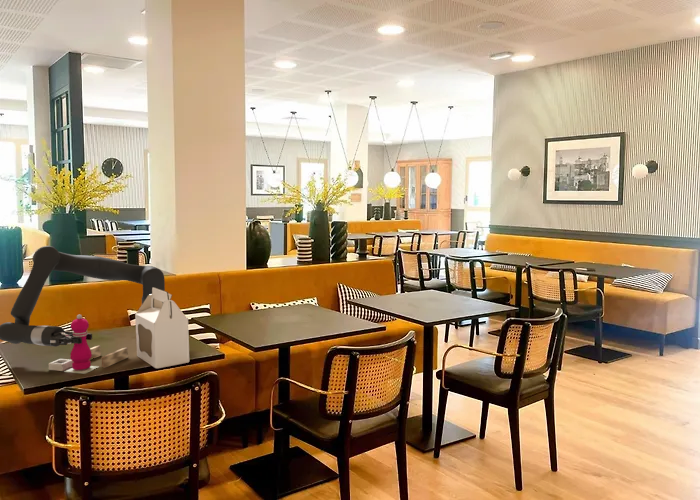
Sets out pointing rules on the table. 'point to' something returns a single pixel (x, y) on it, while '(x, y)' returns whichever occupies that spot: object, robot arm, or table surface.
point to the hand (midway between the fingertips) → (86, 338)
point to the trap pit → (60, 364)
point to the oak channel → (109, 356)
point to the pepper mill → (80, 345)
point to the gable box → (161, 331)
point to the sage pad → (82, 370)
